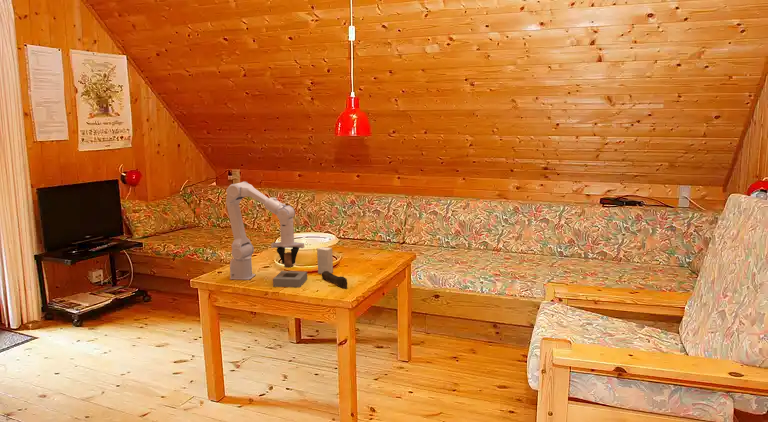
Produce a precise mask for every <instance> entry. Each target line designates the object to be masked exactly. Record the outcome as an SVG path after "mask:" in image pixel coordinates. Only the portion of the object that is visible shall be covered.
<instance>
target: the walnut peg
mask: <svg viewBox="0 0 768 422" xmlns="http://www.w3.org/2000/svg"><path fill="white" fill-rule="evenodd" d="M283 265H284V268H287V269H289V268H290V269H291V268H294V264H292V253H291V251H290V252H289V251H288V252H285V253H284V264H283Z"/></svg>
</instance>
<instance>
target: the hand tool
mask: <svg viewBox="0 0 768 422" xmlns="http://www.w3.org/2000/svg"><path fill="white" fill-rule="evenodd" d="M321 279H322V280H326V281H329V282H330V283H332V284H335V285H336V286H337V287H338V288H339V289H340V288H341V289H348V280H347V279H348V278H346V277H344V276H337V275H336V274H333V273H329V271H324V272H323V273H322V274H321Z"/></svg>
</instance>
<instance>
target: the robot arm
mask: <svg viewBox="0 0 768 422" xmlns="http://www.w3.org/2000/svg"><path fill="white" fill-rule="evenodd" d="M225 191H226V199H225V205H226V209H227V214H228V217H229V223H230V228H231V231H232V236H233V239H234V240H232V243H231V256H232V259H230V262H229V275H230V276H229V280H243V281H245V280H247V281H248V280H251V279H252V278H254V277H255V276H256V273H253V264H252V255H253V254H254V252H255V247H254V245H253V244H252V242H251V239H249V238H248V237H247V233H246V228H245V225H244V220H243V216H242V212H241V207H240V203H241V202H242V200H243V199H245V197H250V198H252V199H254V200H255V201H257V202H259V203H260V204H262V205H264V207H265V210H268V211H269V212H271V213H272V214H274V215H275V216H276V217H277V219H278V221H279V226H280V242H271V244H270V246H271V249H273V248H276V252H277V253H278V255H279V258H280V259H281V264H282V265H284V253H286V248H287V249H290V248H291V249H290V252H291V253H292V264H293V265H295V264H296V259H297V255H298V253H299V250H300V249H304V248H305V242H296V241H295V231H294V230H295V229H294V217H295V215H296V210H295V209H294V207H293V206H291V205H286V203H282V202H281V201H279V200H278V198H277V197H268V196H266V195H265V194H264V193H262V192H261V191H259V190H258V189H257V188H255V187H254V186H253V184H250V183H248V181H241V182H238V183H231V184H229V186H228V187H227V188H226V190H225Z"/></svg>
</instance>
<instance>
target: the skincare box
mask: <svg viewBox="0 0 768 422" xmlns="http://www.w3.org/2000/svg"><path fill="white" fill-rule="evenodd" d="M316 254H317V256H316V257H317V258H316V259H317V274H321V275H322V273H323V272H324V271H329V273H331V274H333V273H334V266H333V263H334V261H333V260H334V259H333V248H332V247H324V246H320V247H318V248H316Z"/></svg>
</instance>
